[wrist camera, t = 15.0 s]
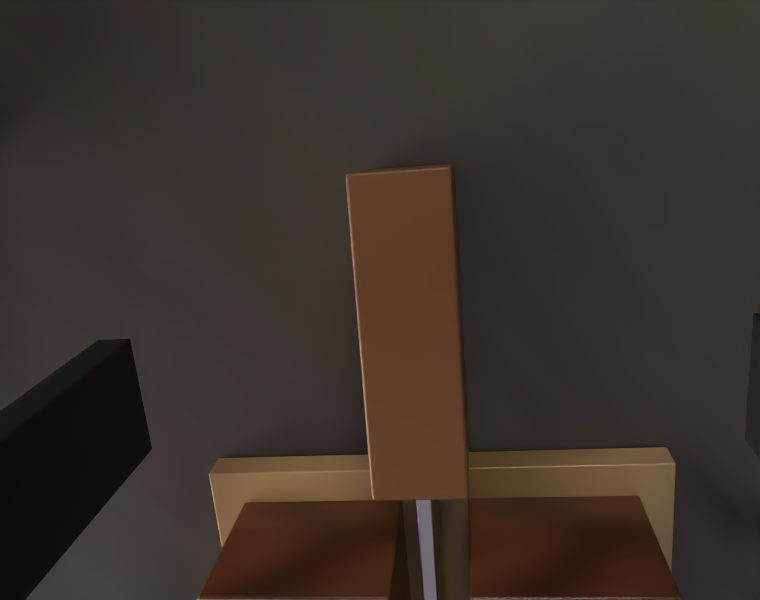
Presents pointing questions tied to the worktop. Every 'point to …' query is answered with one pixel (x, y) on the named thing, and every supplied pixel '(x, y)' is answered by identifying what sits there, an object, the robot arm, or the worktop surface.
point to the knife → (411, 344)
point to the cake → (449, 529)
